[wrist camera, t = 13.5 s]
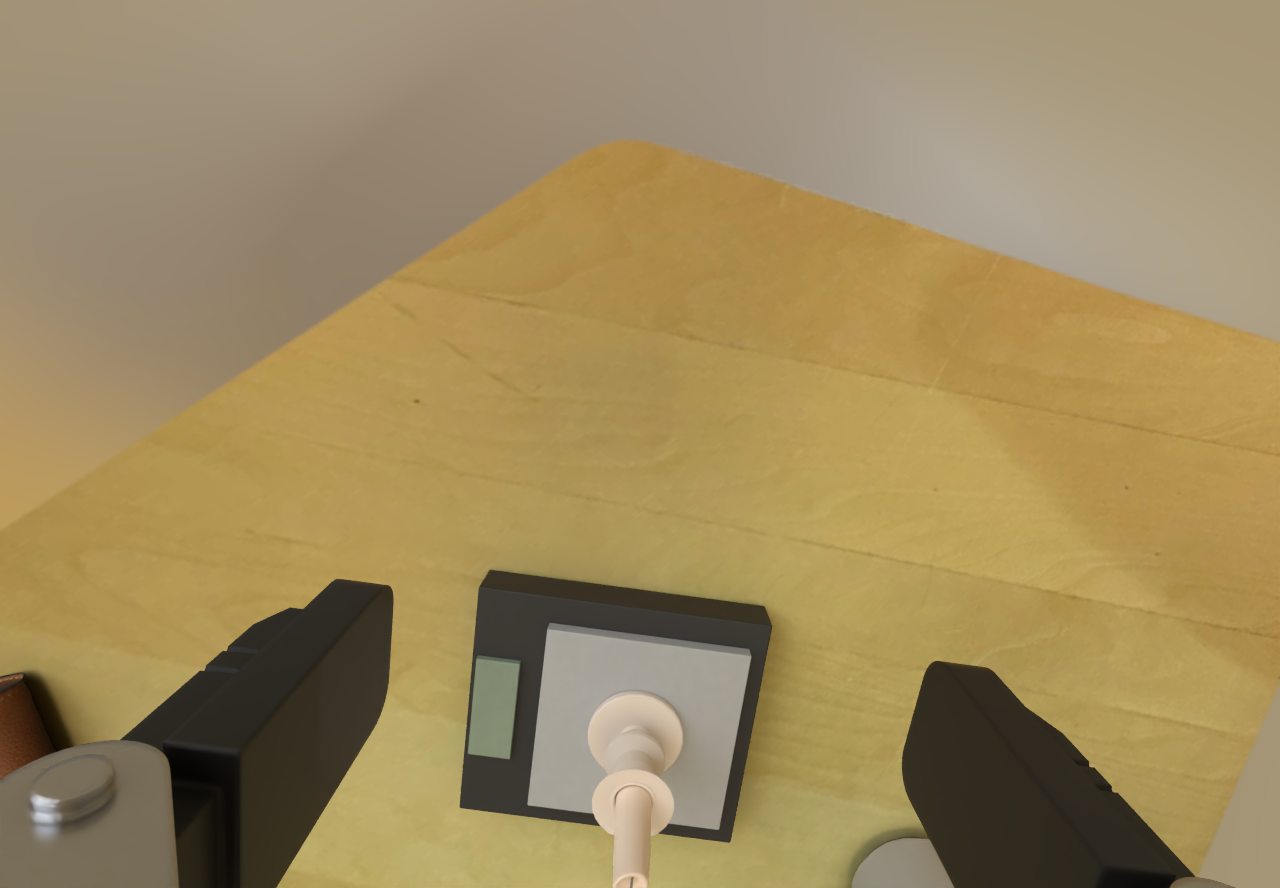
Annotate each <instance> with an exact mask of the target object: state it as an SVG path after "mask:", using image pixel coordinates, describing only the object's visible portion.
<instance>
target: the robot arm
mask: <svg viewBox="0 0 1280 888" xmlns="http://www.w3.org/2000/svg"><path fill="white" fill-rule="evenodd" d="M392 619H393V591H392V589H391V587H390V586H388V585H381V584H374V583H366V582H359V581H352V580H344V579H336V580H334V581H333V582H331V583H330V584H329V585H328V586H327V587H326V588H325V589H324V590H323V591H322V592H321V593H320V594H319V595H318V596H317V597H316V598H314V599H313V600H312V601H311V602H310V603H309V604H308V605H307V606H306V607H305V608H304V609H297V608H288V609H286V610H284V611H282V612H279V613H277V614H275V615H273V616H271V617H269V618H266V619H264V620H262V621H260V622H258V623H255V624H254V625H252V626H251V627H250V628H249V629H248V630H247V631H245V632H244V633H243V634H242V635H241V636H240V637H239V638H237V639H236V640H235V641H234V642H233V643H232V644H230V645H229V646H228V649H227V651H222V652H221V653H220V654H219V655H218V656H217V657H215V658H214V659H213V660H212V661H211V662H210V663H209V664H207V665H206V668H205V670H204V671H199V672H198V673H197V674H196V675H195V676H194V677H192V678H191V679H190V680H189V681H188V682H187V683H185V684H184V685H183V686H182V687H181V688H180V689H179V690H177V691H176V692H175V693H174V694H173V695H172V696H170V697H169V698H168V699H167V700H166V701H165V702H164V703H162V704H161V705H160V706H159V707H158V708H157V709H155V710H154V711H153V712H152V713H151V714H150V715H149V716H147V717H146V718H145V719H144V720H143V721H142V722H140V723H139V724H138V725H137V726H136V727H135V728H134V729H132V730H131V731H130V732H129V733H128V734H127V735H125V736H124V737H123V738H122V739H121V740H110V741H101V742H93V743H88V744H83V745H78V746H74V747H71V748H67V749H64V750H60V751H58V752H55V753H52V754H49V755H47V756H44V757H42V758H40V759H37V760H35V761H33V762H31V763H28V764H27V765H25V766H23V767H21V768H19V769H17V770H15V771H14V772H12V773H11V774H9V775H7V776H6V777H4V778H3V779H1V780H0V888H276V887H277V885H278V884H279V882H280V881H281V879H282V877H283V876H284V874H285V872H286V871H287V869H288V868H289V866H290V864H291V863H292V861H293V859H294V858H295V856H296V855H297V853H298V851H299V850H300V848H301V846H302V845H303V843H304V841H305V840H306V838H307V837H308V835H309V833H310V832H311V830H312V828H313V827H314V825H315V824H316V822H317V820H318V819H319V817H320V815H321V814H322V812H323V810H324V809H325V807H326V806H327V804H328V802H329V801H330V799H331V797H332V796H333V794H334V793H335V791H336V789H337V788H338V786H339V784H340V783H341V781H342V779H343V778H344V776H345V775H346V773H347V771H348V770H349V768H350V766H351V765H352V763H353V762H354V760H355V758H356V757H357V755H358V753H359V752H360V750H361V749H362V747H363V745H364V744H365V742H366V740H367V739H368V737H369V735H370V734H371V732H372V731H373V729H374V727H375V725H376V724H377V721H378V719H379V717H380V714H381V712H382V709H383V706H384V702H385V699H386V694H387V689H388V683H389V669H390V652H391V636H392ZM902 773H903V781H904V786H905V790H906V793H907V795H908V798H909V800H910V802H911V804H912V806H913V808H914V810H915V812H916V814H917V815H918V817H919V819H920V821H921V823H922V825H923V827H924V829H925V831H926V833H927V835H928V837H929V839H930V841H931V843H932V845H933V847H934V849H935V851H936V853H937V855H938V857H939V859H940V861H941V862H942V864H943V866H944V868H945V870H946V872H947V874H948V876H949V878H950V880H951V882H952V884H953V886H954V888H1235V887H1232V886H1229V885H1226V884H1224V883H1221V882H1217V881H1214V880H1210V879H1205V878H1199V877H1195V876H1194V875H1193V874H1192V872H1191V871H1190V870H1189V869H1188V868H1187V867H1186V866H1185V865H1184V864H1183V863H1182V862H1181V861H1180V860H1179V858H1178V857H1177V856H1176V855H1175V854H1174V853H1173V852H1172V851H1171V850H1170V849H1169V848H1168V847H1167V846H1166V844H1165V843H1164V842H1163V841H1162V840H1161V839H1160V838H1159V837H1158V836H1157V835H1156V834H1155V833H1154V831H1153V830H1152V829H1151V828H1150V827H1149V826H1148V825H1147V824H1146V823H1145V822H1144V821H1143V820H1142V819H1141V817H1140V816H1139V815H1138V814H1137V813H1136V812H1135V811H1134V810H1133V809H1132V808H1131V807H1130V806H1129V805H1128V803H1127V802H1126V801H1125V800H1124V799H1123V798H1122V797H1121V796H1120V795H1119V794H1118V793H1115V792H1112V786H1111V785H1110V784H1109V783H1108V782H1107V781H1106V780H1105V779H1104V778H1103V776H1102V775H1101V774H1100V773H1099V772H1098V771H1097V770H1096V769H1095V768H1092V767H1089V761H1088V760H1087V759H1086V758H1085V757H1084V756H1083V755H1082V754H1081V753H1080V752H1079V751H1078V749H1077V748H1076V747H1075V746H1074V745H1073V744H1072V743H1071V742H1070V741H1069V740H1068V739H1067V738H1066V737H1065V735H1064V734H1063V733H1061V732H1060V731H1059V730H1057V729H1056V728H1054V727H1053V726H1052V725H1050V724H1049V723H1047V722H1046V721H1044V720H1043V719H1042V718H1040V717H1039V716H1037V715H1036V714H1035V713H1033V712H1032V711H1030V710H1029V709H1028V708H1026V707H1025V706H1024V705H1023V704H1022V703H1021V702H1020V700H1019V699H1018V698H1017V697H1016V696H1015V695H1014V694H1013V693H1012V691H1011V690H1010V689H1009V688H1008V687H1007V686H1006V685H1005V684H1004V683H1003V681H1002V680H1001V679H1000V678H999V677H998V676H997V675H996V674H995V673H994V672H993V671H992V670H991V669H989V668H985V667H979V666H971V665H964V664H956V663H949V662H942V661H935V662H933V663H931V664H930V665H929V667H928V668H927V670H926V672H925V675H924V678H923V681H922V685H921V689H920V692H919V696H918V699H917V703H916V707H915V710H914V714H913V717H912V721H911V725H910V728H909V732H908V735H907V739H906V743H905V746H904V750H903V757H902Z"/></svg>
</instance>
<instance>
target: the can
mask: <svg viewBox="0 0 1280 888" xmlns="http://www.w3.org/2000/svg"><path fill="white" fill-rule="evenodd" d="M852 888H954V886H953V884H952V882H951V880H950V878H949V876H948V874H947V872H946V870H945V868H944V866H943V864H942V862H941V861H940V859H939V857H938V855H937V853H936V851H935V849H934V847H933V845H932V843H931V841H930V840H929V839H919V838H901V839H897V840H893V841H889V842H887V843H885V844H883V845H882V846H880V847H878V848H876V849H875V850H874V851H873V852H872V853H871V854H870V855H869V856H868V857H867V858H866V859H865V860H864V861H863V862H862V863H861V864H860V865H859V867H858V869H857V872H856V874H855V876H854V878H853V880H852Z"/></svg>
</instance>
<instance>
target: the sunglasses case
mask: <svg viewBox="0 0 1280 888" xmlns="http://www.w3.org/2000/svg"><path fill="white" fill-rule="evenodd" d="M55 752H56V751H55V749H54V747H53V745H52V742H51V740H50V738H49V736H48V734H47V732H46V729H45V727H44V724H43V722H42V720H41V717H40V715H39V713H38V711H37V709H36V707H35V705H34V702H33V699H32V696H31V693H30V691H29V689H28V688H27V686H26V685H25V683H24V673H16V674H12V675H7V676H2V677H0V780H1V779H3V778H4V777H6V776H7V775H9V774H11V773H12V772H14V771H15V770H17V769H19V768H21V767H23V766H25V765H27V764H28V763H31V762H33V761H35V760H37V759H40V758H42V757H44V756H47V755H49V754H52V753H55Z"/></svg>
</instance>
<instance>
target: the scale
mask: <svg viewBox="0 0 1280 888" xmlns="http://www.w3.org/2000/svg"><path fill="white" fill-rule="evenodd" d="M771 629H772V625H771V622H770V620H769V617H768V614H767V611H766V609H765V607H764V606H757V605H749V604H741V603H734V602H726V601H719V600H711V599H704V598H696V597H689V596H681V595H674V594H666V593H659V592H651V591H644V590H636V589H629V588H621V587H613V586H606V585H598V584H591V583H583V582H576V581H568V580H561V579H553V578H546V577H538V576H531V575H523V574H516V573H508V572H501V571H493V570H490V571H489V572H488V574H487V575H486V577H485V579H484V580H483V582H482V584H481V585H480V587H479V592H478V604H477V615H476V626H475V638H474V649H473V661H472V672H471V683H470V695H469V706H468V717H467V729H466V740H465V751H464V763H463V774H462V785H461V797H460V808H465V809H473V810H480V811H488V812H496V813H504V814H511V815H519V816H527V817H535V818H542V819H550V820H558V821H566V822H573V823H581V824H589V825H597V826H600V825H599V823H598V822H597V820H596V819H595V816H594V813H593V811H592V798H593V794H594V790H595V789H596V787H597V786H598V784H599V782H600V781H602V780H603V779H604V778H605V777H606V776H607V775H608V774H607V773H606V770H605V769H604V768H603V767H602V766H601V765H600V764H599V763H598V762H597V761H596V759H595V758H594V756H593V755H592V753H591V750H590V747H589V744H588V727H589V724H590V720H591V717H592V715H593V713H594V712H595V710H596V708H597V707H598V706H599V705H600V704H601V703H602V702H603V701H605V700H606V699H608V698H609V697H611V696H613V695H615V694H618V693H622V692H626V691H644V692H649V693H653V694H655V695H657V696H659V697H661V698H663V699H665V700H666V701H667V702H668V703H669V704H670V705H671V706H673V708H674V709H675V711H676V712H677V714H678V715H679V717H680V720H681V723H682V726H683V745H682V749H681V752H680V754H679V756H678V757H677V759H676V761H675V762H674V763H673V764H672V765H671V766H670V767H669V768H668V769H667V770H665V771H664V772H663V774H662V775H661V777H660V778H661V779H662V780H664V781H665V782H666V784H667V785H668V787H669V788H670V789H671V792H672V795H673V798H674V811H673V815H672V818H671V820H670V821H669V823H668V824H667V826H666V827H665V828H664V829H663V830H662V831H660V832H659V834H666V835H674V836H682V837H690V838H697V839H705V840H713V841H721V842H728V843H729V842H730V841H731V837H732V832H733V826H734V821H735V816H736V811H737V806H738V800H739V795H740V790H741V785H742V780H743V775H744V769H745V764H746V759H747V754H748V749H749V743H750V738H751V733H752V728H753V723H754V718H755V712H756V707H757V702H758V697H759V692H760V686H761V681H762V676H763V671H764V666H765V661H766V655H767V650H768V645H769V640H770V635H771Z"/></svg>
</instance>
